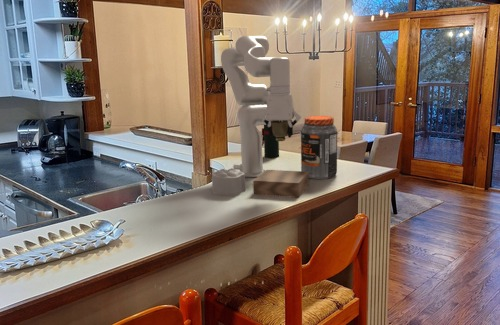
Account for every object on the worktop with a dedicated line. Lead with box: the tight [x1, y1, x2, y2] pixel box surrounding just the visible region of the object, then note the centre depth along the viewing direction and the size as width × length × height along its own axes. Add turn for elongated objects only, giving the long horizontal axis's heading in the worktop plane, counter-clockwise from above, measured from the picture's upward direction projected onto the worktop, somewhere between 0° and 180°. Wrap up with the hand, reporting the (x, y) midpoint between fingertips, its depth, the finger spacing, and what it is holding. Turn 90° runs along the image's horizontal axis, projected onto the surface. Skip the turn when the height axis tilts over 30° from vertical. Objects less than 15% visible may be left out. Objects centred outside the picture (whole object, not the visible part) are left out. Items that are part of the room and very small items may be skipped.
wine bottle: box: [261, 125, 280, 159], centre depth 243 cm, size 8×10×30 cm
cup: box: [271, 121, 289, 142], centre depth 178 cm, size 8×7×8 cm
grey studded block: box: [211, 167, 246, 197], centre depth 183 cm, size 10×13×9 cm
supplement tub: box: [300, 115, 338, 180], centre depth 201 cm, size 16×16×26 cm
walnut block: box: [252, 169, 310, 198], centre depth 183 cm, size 18×18×6 cm
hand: (280, 136), depth 179 cm, fingers closed on cup, 6 cm apart
